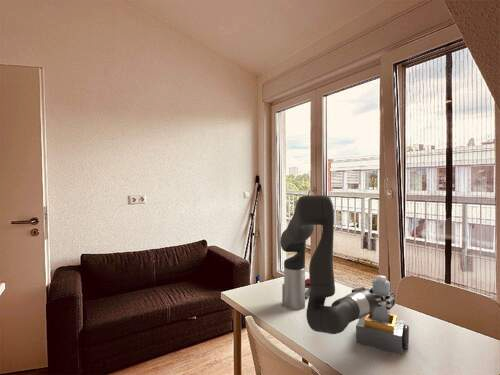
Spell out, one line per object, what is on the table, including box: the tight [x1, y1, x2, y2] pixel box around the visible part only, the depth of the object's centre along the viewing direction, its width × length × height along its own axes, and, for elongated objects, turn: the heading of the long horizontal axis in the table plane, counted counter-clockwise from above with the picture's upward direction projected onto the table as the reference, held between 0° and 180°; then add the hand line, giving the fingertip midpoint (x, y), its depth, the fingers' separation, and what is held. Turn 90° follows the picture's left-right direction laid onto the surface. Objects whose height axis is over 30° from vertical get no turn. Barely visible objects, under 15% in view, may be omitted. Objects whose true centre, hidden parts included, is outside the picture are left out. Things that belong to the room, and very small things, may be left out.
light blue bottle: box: [372, 274, 391, 322], centre depth 102 cm, size 6×6×15 cm
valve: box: [305, 277, 310, 300], centre depth 151 cm, size 6×26×15 cm
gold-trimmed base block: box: [355, 313, 410, 356], centre depth 102 cm, size 16×12×8 cm
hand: (384, 292), depth 104 cm, fingers closed on light blue bottle, 5 cm apart
